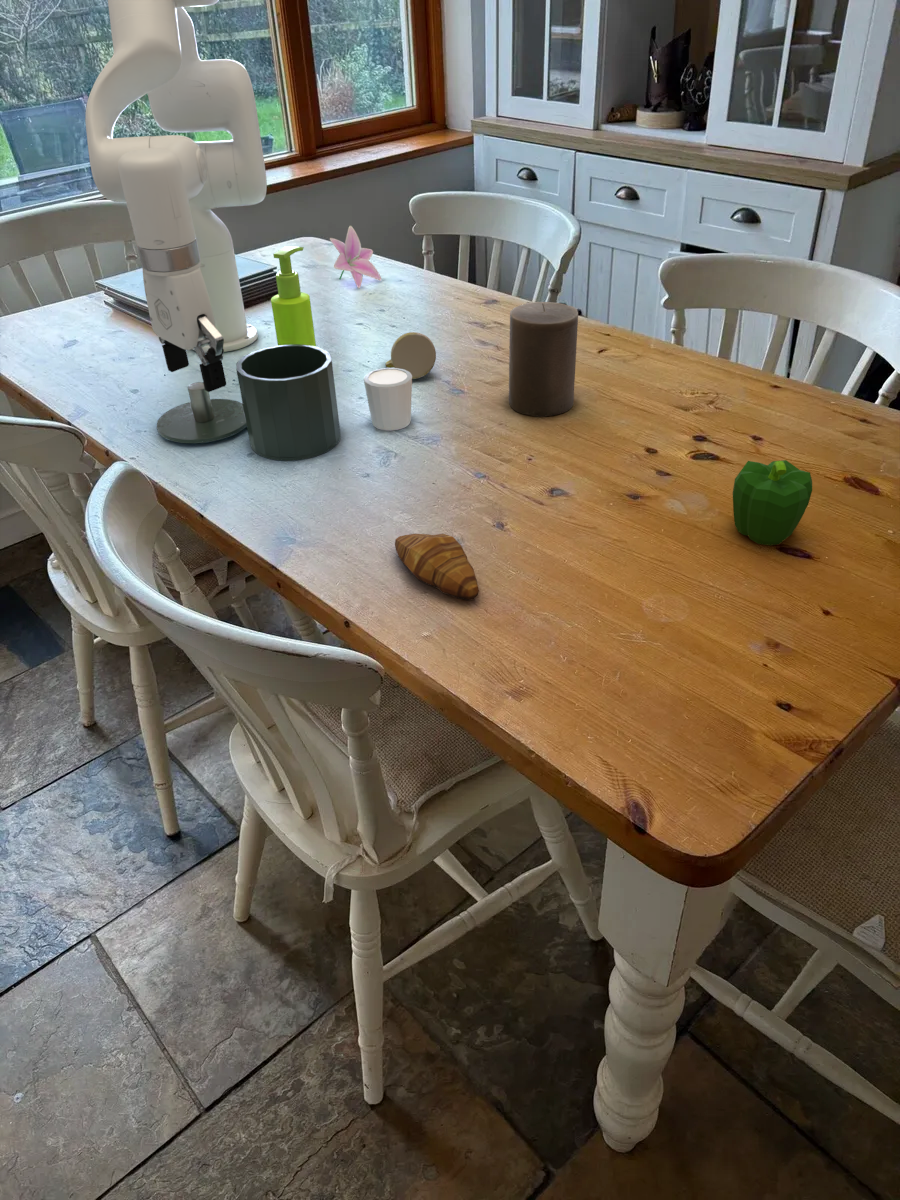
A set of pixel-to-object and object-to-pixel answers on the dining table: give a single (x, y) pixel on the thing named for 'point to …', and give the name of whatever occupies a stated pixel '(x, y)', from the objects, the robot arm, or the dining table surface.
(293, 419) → the canister
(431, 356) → the mug
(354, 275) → the lily
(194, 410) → the lid
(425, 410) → the dining table surface
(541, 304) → the pillar candle
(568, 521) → the dining table surface
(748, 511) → the bell pepper
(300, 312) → the soap dispenser
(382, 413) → the white cup
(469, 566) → the croissant
